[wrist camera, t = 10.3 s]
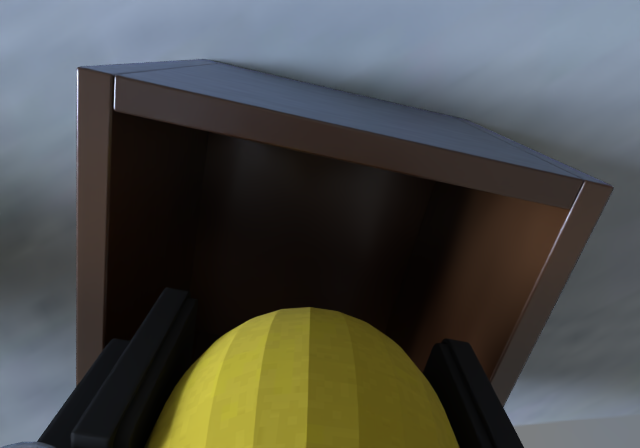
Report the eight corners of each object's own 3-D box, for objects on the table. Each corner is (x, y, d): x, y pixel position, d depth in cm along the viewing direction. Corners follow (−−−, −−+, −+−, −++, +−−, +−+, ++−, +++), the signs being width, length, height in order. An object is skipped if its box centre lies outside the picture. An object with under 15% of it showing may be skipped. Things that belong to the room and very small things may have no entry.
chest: (203, 58, 19) (75, 65, 9) (467, 119, 20) (616, 187, 10) (174, 328, 24) (75, 518, 14) (382, 365, 26) (424, 566, 16)
